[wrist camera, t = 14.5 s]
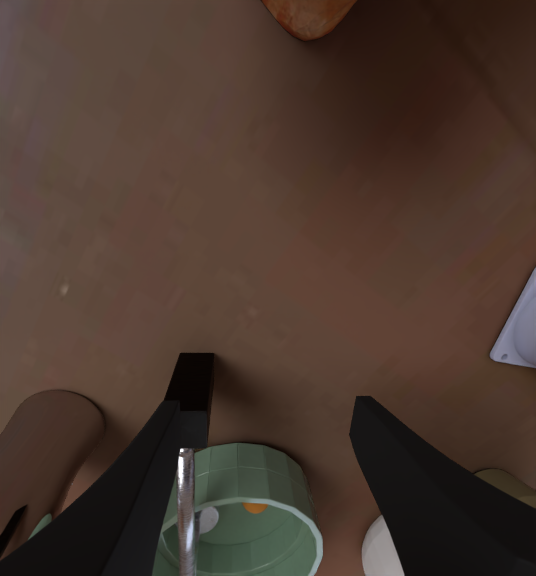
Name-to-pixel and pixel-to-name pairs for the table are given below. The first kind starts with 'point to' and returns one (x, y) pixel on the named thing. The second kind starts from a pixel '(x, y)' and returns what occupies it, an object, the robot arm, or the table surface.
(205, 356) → the ladle
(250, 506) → the orange ball
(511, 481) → the squeeze bottle
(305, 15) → the frog figurine
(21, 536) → the beer glass
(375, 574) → the cup
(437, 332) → the table surface
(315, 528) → the soup bowl
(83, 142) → the table surface
